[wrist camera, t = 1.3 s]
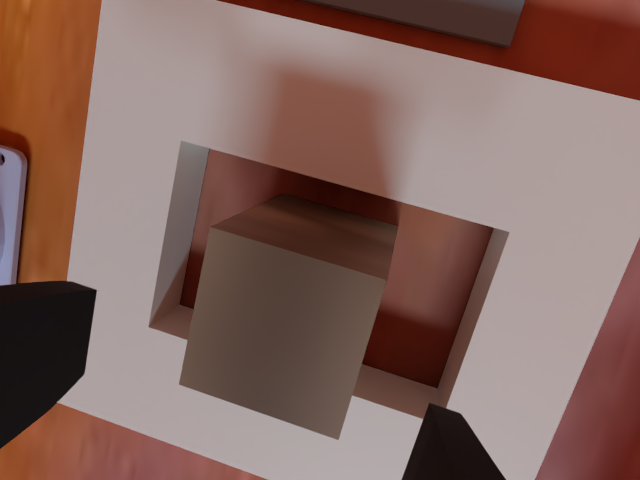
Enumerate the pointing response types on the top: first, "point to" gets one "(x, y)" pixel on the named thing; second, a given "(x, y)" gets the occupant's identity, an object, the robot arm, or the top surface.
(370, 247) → the walnut block
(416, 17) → the rubber mat
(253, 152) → the puzzle board
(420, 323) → the top surface
